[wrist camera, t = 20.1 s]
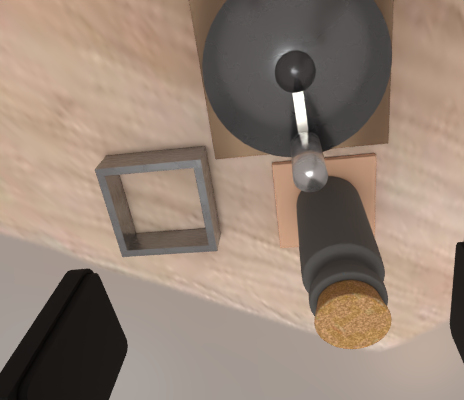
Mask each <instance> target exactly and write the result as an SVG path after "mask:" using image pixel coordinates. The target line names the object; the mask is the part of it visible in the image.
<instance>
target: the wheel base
mask: <svg viewBox="0 0 464 400" xmlns="http://www.w3.org/2000/svg"><path fill="white" fill-rule="evenodd" d="M226 1H227V0H189V3H190V9H191V15H192V21H193V27H194V33H195V39H196V45H197V51H198V57H199V63H200V69H201V75H202V81H203V87H204V93H205V99H206V105H207V111H208V117H209V123H210V129H211V135H212V141H213V147H214V153H215V159H224V158H235V157H245V156H256V155H267V153H264V152H261V151H258V150H256V149H254V148H252V147H250V146H248V145H246V144H244V143H243V142H241V141H240V140H239V139H237V138H236V137H235V136H234V135H232V134H231V133H230V132H229V131H228V130H227V129H226V128H225V126H224V125H223V124H222V123H221V121H220V120H219V119H218V117H217V115H216V114H215V112H214V111H213V109H212V106H211V104H210V102H209V100H208V97H207V94H206V90H205V86H204V80H203V69H202V61H203V51H204V46H205V41H206V38H207V35H208V32H209V29H210V26H211V24H212V22H213V21H214V19H215V17H216V15H217V13H218V12H219V10H220V9H221V7H222V6H223V4H224V3H225V2H226ZM374 1H375V3H376V4H377V6H378V8H379V9H380V11H381V13H382V15H383V17H384V20H385V22H386V25H387V27H388V31H389V35H390V39H391V49H392V26H393V0H374ZM390 81H391V71H390V77H389V81H388V84H387V88H386V91H385V93H384V95H383V98H382V100H381V102H380V104H379V105H378V107H377V109H376V110H375V112H374V114H373V115H372V116H371V117H370V119H369V120H368V121H367V123H366V124H365V125H364V126H363V127H362V128H361V129H360V130H359V131H358V132H356V133H355V134H354V135H353V136H351V137H350V138H349V139H347V140H346V141H344V142H343V143H341V144H339V145H337V146H335V147H333V148H342V147H353V146H364V145H375V144H385V143H388V136H389V109H390ZM331 149H332V148H331Z"/></svg>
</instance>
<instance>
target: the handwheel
mask: <svg viewBox="0 0 464 400" xmlns="http://www.w3.org/2000/svg"><path fill="white" fill-rule="evenodd" d="M391 64H392V49H391V39H390V35H389V31H388V27H387V25H386V22H385V20H384V17H383V15H382V13H381V11H380V9H379V8H378V6H377V4H376V3H375V1H374V0H227V1H226V2H225V3H224V4H223V6H222V7H221V9H220V10H219V12H218V13H217V15H216V17H215V19H214V21H213V22H212V24H211V26H210V29H209V32H208V35H207V38H206V41H205V46H204V51H203V61H202V69H203V80H204V86H205V90H206V94H207V97H208V100H209V102H210V104H211V106H212V109H213V111H214V112H215V114H216V115H217V117H218V119H219V120H220V121H221V123H222V124H223V125H224V126H225V128H226V129H227V130H228V131H229V132H230V133H231V134H232V135H234V136H235V137H236V138H237V139H239V140H240V141H241V142H243V143H244V144H246V145H248V146H250V147H252V148H254V149H256V150H258V151H261V152H264V153H267V154H271V155H276V156H283V157H291V161H292V173H293V181H294V184H295V185H296V187H297V188H298V189H300V190H301V191H304V192H315V191H318V190H320V189H321V188H323V187H324V186H325V184H326V183H327V180H328V172H327V168H326V164H325V160H324V156H323V152H324V151H326V150H329V149H331V148H333V147H335V146H337V145H339V144H341V143H343V142H344V141H346V140H347V139H349V138H350V137H351V136H353V135H354V134H355V133H356V132H358V131H359V130H360V129H361V128H362V127H363V126H364V125H365V124H366V123H367V121H368V120H369V119H370V117H371V116H372V115H373V114H374V112H375V110H376V109H377V107H378V105H379V104H380V102H381V100H382V98H383V95H384V93H385V91H386V88H387V84H388V81H389V77H390V71H391Z"/></svg>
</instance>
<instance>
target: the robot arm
mask: <svg viewBox="0 0 464 400" xmlns="http://www.w3.org/2000/svg"><path fill="white" fill-rule="evenodd" d="M450 329H451V334H452V337H453V339H454V342H455V344H456V346H457V349H458V351H459V353H460V356H461V358H462V360H463V363H464V242H458V243H457V245H456V253H455V265H454V277H453V289H452V302H451V314H450ZM127 348H128V345H127V339H126V337H125V334H124V332H123V330H122V328H121V325H120V323H119V321H118V318H117V316H116V314H115V311H114V309H113V307H112V304H111V302H110V300H109V298H108V295H107V293H106V291H105V288H104V286H103V284H102V281H101V279H100V277H99V275H98V274H97V273H93V271H92V270H90V269H78V270H70V271H68V272H67V273H66V274H65V275H64V277H63V279H62V280H61V282H60V283H59V285H58V286H57V288H56V289H55V291H54V292H53V294H52V295H51V297H50V298H49V300H48V301H47V303H46V304H45V306H44V308H43V309H42V310H41V312H40V313H39V315H38V316H37V318H36V320H35V321H34V323H33V324H32V326H31V327H30V329H29V330H28V332H27V333H26V335H25V336H24V338H23V339H22V341H21V342H20V344H19V345H18V347H17V348H16V350H15V351H14V353H13V354H12V356H11V357H10V359H9V360H8V362H7V363H6V365H5V367H4V368H3V370H2V371H1V373H0V400H109V398H110V395H111V392H112V390H113V387H114V385H115V382H116V380H117V377H118V374H119V372H120V369H121V366H122V364H123V361H124V358H125V356H126V353H127Z"/></svg>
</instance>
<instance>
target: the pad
mask: <svg viewBox="0 0 464 400" xmlns="http://www.w3.org/2000/svg"><path fill="white" fill-rule="evenodd" d="M324 160H325V164H326V168H327V172H328V176H334V177H339V178H342V179H344V180H347V181H348V182H350V183H351V184H352V185H353V186H354V187H355V188H356V190H357V191H358V193H359V196H360V198H361V201H362V203H363V206H364V209H365V212H366V215H367V218H368V220H369V223H370V226H371V229H372V232H373V235H374V237H375V193H376V154H375V153H373V154H362V155H350V156H339V157H328V158H324ZM272 169H273V179H274V189H275V199H276V209H277V219H278V228H279V238H280V248H288V247H299V238H298V225H297V208H296V205H297V199H298V195H299V194H300V192H301V190H300V189H298V188H297V187H296V185H295V184H294V181H293V173H292V161H284V162H273V163H272Z"/></svg>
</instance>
